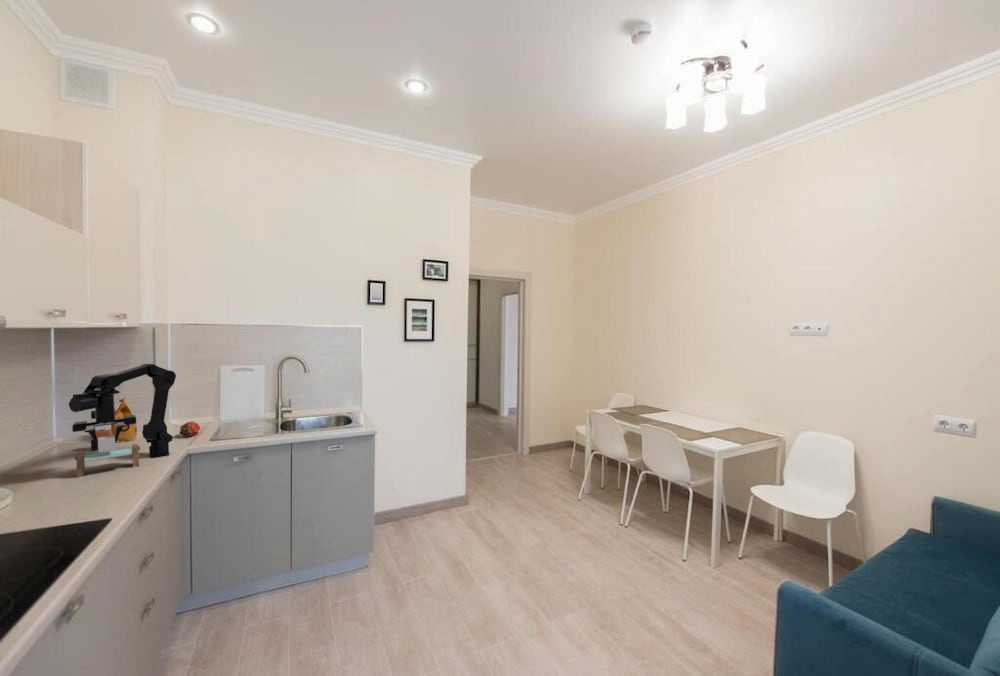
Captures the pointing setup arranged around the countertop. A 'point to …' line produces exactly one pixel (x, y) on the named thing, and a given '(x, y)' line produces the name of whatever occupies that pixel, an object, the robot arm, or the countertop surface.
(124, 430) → the coffee package
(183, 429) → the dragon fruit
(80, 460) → the trapdoor frame
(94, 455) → the trapdoor
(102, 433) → the battery
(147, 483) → the countertop surface
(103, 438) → the grey cube
